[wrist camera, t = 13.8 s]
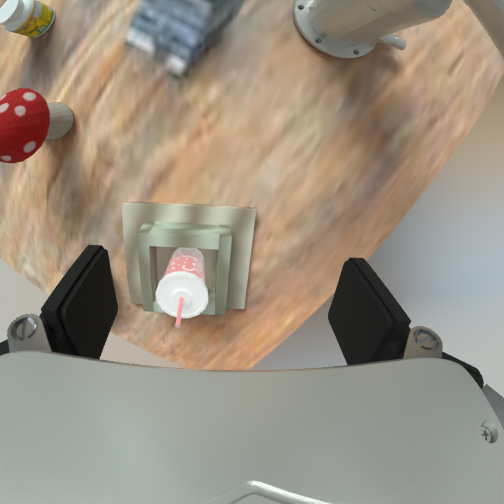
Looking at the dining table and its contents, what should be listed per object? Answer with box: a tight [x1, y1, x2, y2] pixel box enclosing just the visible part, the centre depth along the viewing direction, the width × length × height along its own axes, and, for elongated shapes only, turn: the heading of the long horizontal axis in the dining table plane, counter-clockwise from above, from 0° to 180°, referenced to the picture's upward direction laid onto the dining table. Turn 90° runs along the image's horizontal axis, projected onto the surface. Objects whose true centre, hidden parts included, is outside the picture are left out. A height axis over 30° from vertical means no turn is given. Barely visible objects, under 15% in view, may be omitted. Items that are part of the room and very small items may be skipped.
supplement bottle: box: [0, 0, 55, 38], centre depth 16 cm, size 5×5×10 cm
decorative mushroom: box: [0, 88, 74, 163], centre depth 22 cm, size 10×9×15 cm
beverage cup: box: [156, 248, 208, 328], centre depth 33 cm, size 6×6×14 cm
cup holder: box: [122, 202, 256, 315], centre depth 38 cm, size 18×16×6 cm
